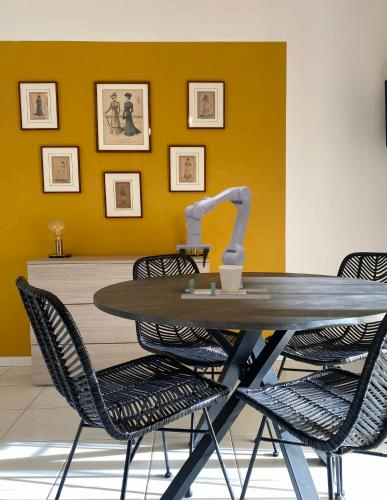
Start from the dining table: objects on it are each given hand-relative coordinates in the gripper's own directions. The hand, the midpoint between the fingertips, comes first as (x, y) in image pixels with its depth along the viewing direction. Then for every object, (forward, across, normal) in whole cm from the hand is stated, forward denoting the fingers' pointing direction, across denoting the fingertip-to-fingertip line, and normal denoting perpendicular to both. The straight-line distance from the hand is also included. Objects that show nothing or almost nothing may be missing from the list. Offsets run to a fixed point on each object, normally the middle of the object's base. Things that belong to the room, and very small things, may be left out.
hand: (194, 267), depth 208 cm
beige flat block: (+10, +10, -6) cm, 15 cm away
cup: (+11, +15, -5) cm, 19 cm away
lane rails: (+10, +13, -8) cm, 19 cm away
